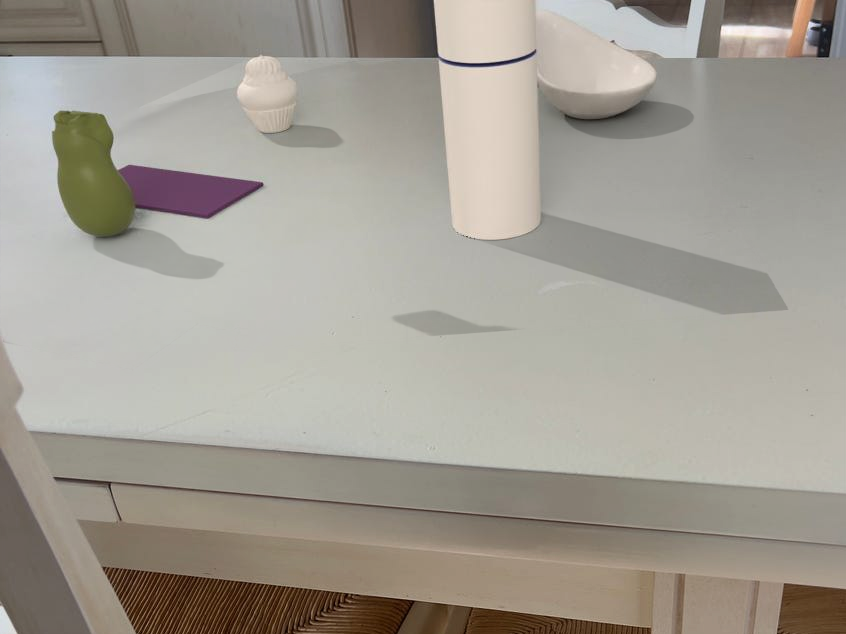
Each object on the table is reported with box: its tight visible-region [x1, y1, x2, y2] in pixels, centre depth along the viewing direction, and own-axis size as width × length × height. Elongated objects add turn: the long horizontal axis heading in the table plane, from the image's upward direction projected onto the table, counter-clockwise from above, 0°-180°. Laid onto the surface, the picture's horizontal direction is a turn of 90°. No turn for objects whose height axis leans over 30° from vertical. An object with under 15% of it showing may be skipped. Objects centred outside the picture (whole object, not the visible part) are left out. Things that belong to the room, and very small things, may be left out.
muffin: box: [236, 54, 299, 134], centre depth 102 cm, size 6×6×7 cm
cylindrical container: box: [433, 0, 542, 241], centre depth 74 cm, size 7×7×25 cm
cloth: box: [117, 164, 264, 219], centre depth 92 cm, size 16×8×1 cm, turn 63°
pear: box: [51, 109, 136, 238], centre depth 82 cm, size 6×5×10 cm
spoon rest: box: [536, 9, 658, 120], centre depth 104 cm, size 24×12×7 cm, turn 29°
